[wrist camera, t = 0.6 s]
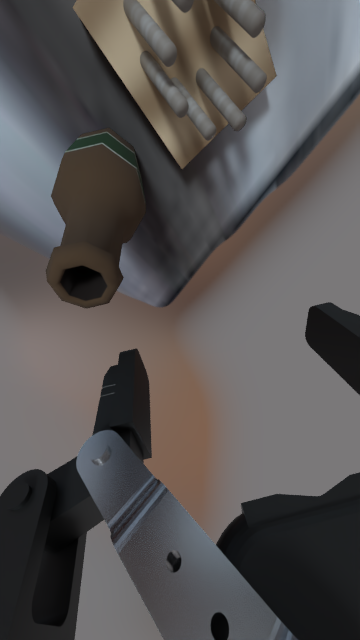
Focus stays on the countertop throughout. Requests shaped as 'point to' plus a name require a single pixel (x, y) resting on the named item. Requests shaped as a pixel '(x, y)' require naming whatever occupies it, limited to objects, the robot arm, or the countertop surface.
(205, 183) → the countertop surface
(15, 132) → the countertop surface
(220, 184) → the countertop surface
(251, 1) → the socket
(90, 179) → the beer bottle
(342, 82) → the countertop surface
